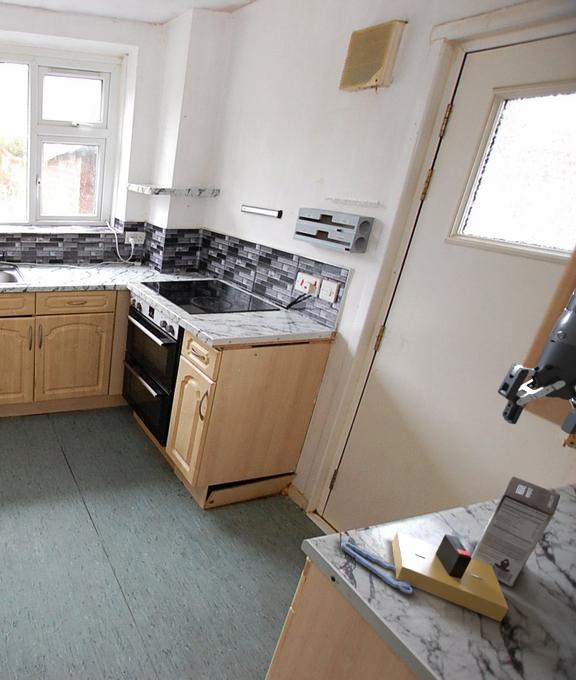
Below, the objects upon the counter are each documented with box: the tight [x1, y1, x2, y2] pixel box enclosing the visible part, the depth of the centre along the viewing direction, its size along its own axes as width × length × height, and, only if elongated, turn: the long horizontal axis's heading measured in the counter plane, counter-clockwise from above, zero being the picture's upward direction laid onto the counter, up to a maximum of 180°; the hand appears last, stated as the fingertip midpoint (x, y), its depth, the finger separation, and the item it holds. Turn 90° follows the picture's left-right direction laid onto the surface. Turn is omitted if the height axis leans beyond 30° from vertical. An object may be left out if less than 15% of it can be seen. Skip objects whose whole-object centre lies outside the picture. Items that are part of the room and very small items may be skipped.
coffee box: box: [471, 476, 561, 587], centre depth 81 cm, size 9×6×16 cm
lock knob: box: [436, 533, 472, 579], centre depth 78 cm, size 5×2×5 cm, turn 164°
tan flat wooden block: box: [391, 530, 509, 623], centre depth 79 cm, size 14×10×3 cm
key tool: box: [340, 540, 413, 595], centre depth 81 cm, size 12×1×5 cm
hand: (537, 426), depth 80 cm, fingers open, 8 cm apart
